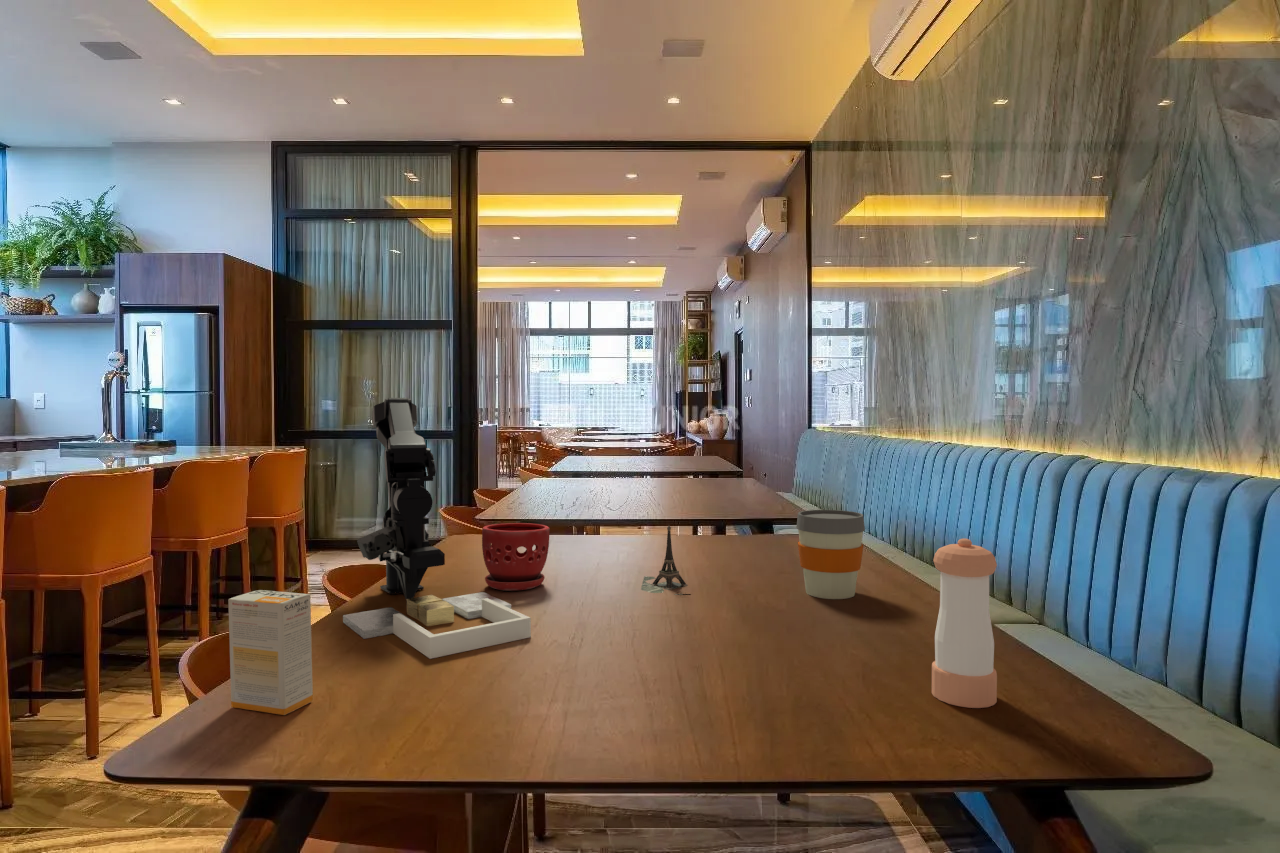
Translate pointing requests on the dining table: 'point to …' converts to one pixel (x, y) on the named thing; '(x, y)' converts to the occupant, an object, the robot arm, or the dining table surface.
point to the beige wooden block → (436, 613)
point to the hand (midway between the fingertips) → (409, 599)
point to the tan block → (413, 603)
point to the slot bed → (382, 619)
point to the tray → (466, 632)
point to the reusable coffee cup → (830, 551)
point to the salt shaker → (964, 627)
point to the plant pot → (515, 555)
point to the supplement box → (270, 651)
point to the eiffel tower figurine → (665, 573)
